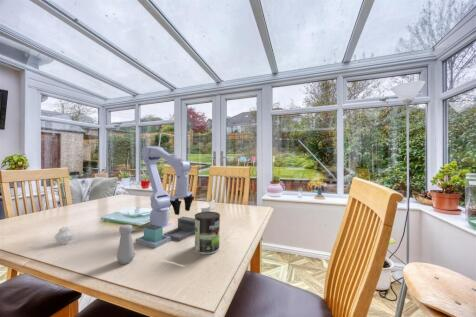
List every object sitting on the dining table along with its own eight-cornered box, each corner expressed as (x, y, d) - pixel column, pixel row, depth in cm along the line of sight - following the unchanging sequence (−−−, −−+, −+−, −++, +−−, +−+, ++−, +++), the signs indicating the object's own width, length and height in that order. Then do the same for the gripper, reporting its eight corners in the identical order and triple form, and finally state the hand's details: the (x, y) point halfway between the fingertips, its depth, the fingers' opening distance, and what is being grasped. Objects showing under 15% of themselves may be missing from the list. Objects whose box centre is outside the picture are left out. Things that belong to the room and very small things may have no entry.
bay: (161, 237, 97) (161, 224, 96) (183, 227, 110) (183, 216, 110) (182, 242, 91) (182, 229, 91) (201, 231, 104) (201, 219, 104)
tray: (135, 243, 90) (135, 238, 90) (152, 236, 97) (152, 232, 97) (155, 249, 85) (155, 244, 85) (170, 241, 92) (170, 236, 92)
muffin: (58, 241, 91) (58, 225, 91) (75, 239, 93) (75, 223, 93) (52, 247, 85) (52, 230, 85) (70, 245, 88) (70, 228, 87)
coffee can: (224, 247, 88) (225, 213, 87) (208, 257, 79) (209, 220, 79) (205, 241, 93) (206, 210, 93) (189, 250, 84) (189, 215, 84)
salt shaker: (121, 257, 78) (121, 223, 77) (137, 257, 78) (137, 222, 78) (113, 266, 72) (113, 228, 71) (130, 265, 72) (130, 228, 72)
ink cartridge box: (206, 225, 114) (206, 198, 114) (215, 225, 113) (215, 198, 113) (200, 230, 106) (201, 201, 106) (210, 231, 105) (210, 202, 105)
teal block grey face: (155, 244, 88) (155, 229, 88) (143, 241, 91) (143, 226, 91) (162, 240, 91) (162, 226, 91) (151, 237, 94) (151, 223, 94)
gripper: (178, 187, 94) (178, 217, 95) (198, 183, 107) (197, 210, 108) (167, 186, 98) (166, 215, 98) (187, 182, 111) (187, 208, 111)
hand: (182, 212), depth 103 cm, fingers open, 7 cm apart
